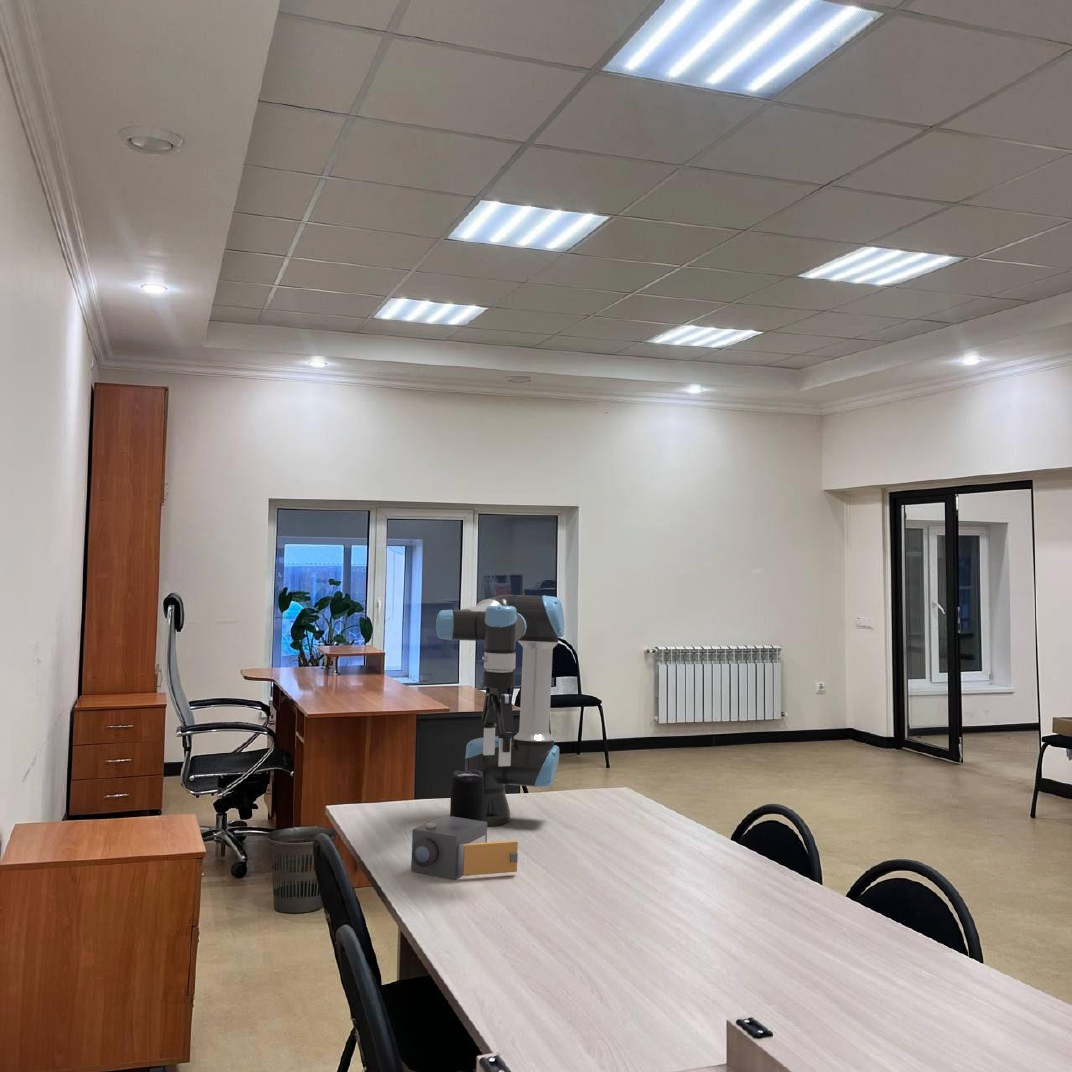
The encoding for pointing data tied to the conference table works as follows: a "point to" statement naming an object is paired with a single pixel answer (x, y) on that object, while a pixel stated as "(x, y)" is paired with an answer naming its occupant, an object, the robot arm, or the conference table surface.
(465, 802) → the portable speaker
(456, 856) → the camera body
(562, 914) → the conference table surface
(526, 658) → the robot arm
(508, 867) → the side door
